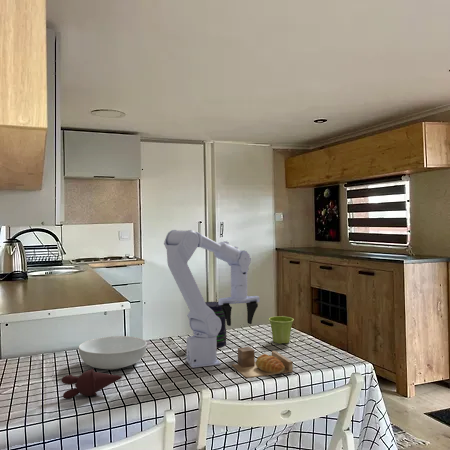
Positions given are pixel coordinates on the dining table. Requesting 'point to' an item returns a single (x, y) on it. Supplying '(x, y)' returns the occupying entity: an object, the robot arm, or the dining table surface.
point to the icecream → (88, 383)
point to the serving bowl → (112, 351)
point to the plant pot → (281, 328)
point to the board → (257, 372)
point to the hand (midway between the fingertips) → (239, 324)
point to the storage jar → (219, 312)
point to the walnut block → (246, 357)
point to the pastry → (269, 364)
